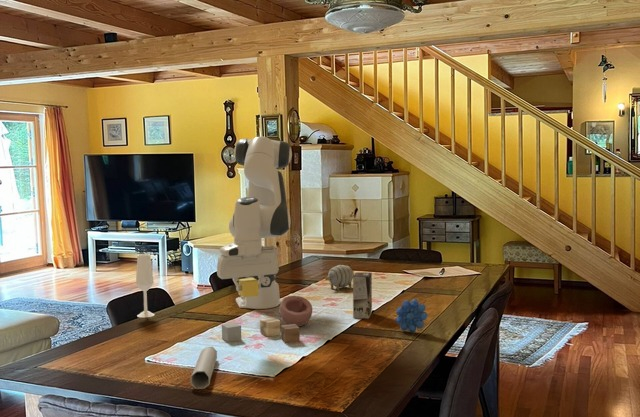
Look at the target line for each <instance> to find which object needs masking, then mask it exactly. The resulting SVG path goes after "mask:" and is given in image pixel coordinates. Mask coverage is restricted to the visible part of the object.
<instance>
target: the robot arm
mask: <svg viewBox="0 0 640 417" xmlns="http://www.w3.org/2000/svg"><path fill="white" fill-rule="evenodd" d="M234 146H235V147H234V150H233V154H234V155H233V156H234V159H235V162H236V163H237V164H238V165H240V166H243V173H244V177H245V178H246V180H247V181H248V194H247V195H248V196H245V197H240V198H238V199H237V200H236V201H235V204H234V212H233V214H232V217H231V218H230V220H229V222H228V230H229V233H230V234H231V236H232V237H233V242H231V243H228V244H226V245H223V246H221V247H220V248H219V253H220V255H219V257H218V260H217V265H216V274H217V277H218V278H219V279H221V280H228V279H232V281H233V283H234V285H235V289H236V290H235V291H236V292H238V295H239V291H242V285H239V279H241V278H245V279H246V278H254V279H256V280H258V296H253V297H242V296H241V295H240V296H239V297H236V298H235V302H236V303H237V306H238V307H239V308H240V309H251V310H253V309H254V310H263V309H264V310H265V309H272V308H275V307H278V306H280V304H281V302H282V300H283V299H281V298H280V287H279V286H280V285H279V283H278V282H276V275H277V274H278V273H279V271H280V269H279V261H278V258H279V251H278V248H277V247H275V246H274V245H270V246H265V245H262V242H263V241H262V239H272V238H279V237H282V236H285V235H286V234H288V232H289V231H290V228H291V214H290V211H289V209H288V204H287V203H288V200H287V194H286V185H285V180H284V175H283V174H282V171H280V169H284V168H287V167H288V166H289V164H290V162H291V161H292V157H293V152H292V148H291V145H290V144H289V143H288V142H287V141H283V140H275V139H271V138H268V136H267V137H266V136H256V137H254V138H249V139H248V138H241V139H239V140H238V141H237V142H236V144H235V145H234ZM277 168H278V169H277Z"/></svg>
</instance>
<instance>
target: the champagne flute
mask: <svg viewBox="0 0 640 417" xmlns="http://www.w3.org/2000/svg"><path fill="white" fill-rule="evenodd" d="M136 260H137V261H136V274H135V285H136V286H137V288H138V289H139V290H141V291H142V292H143V311H141V312H140V313H139V314H137V315H136V316H137V318H152V317H154V316H155V313H153V312H151V311H149V310H148V296H147V295H148V294H147V291H149V289H151V288H152V287H153V285H154V276H153V267H152V259H151V254H150V253H141V254H137V258H136Z"/></svg>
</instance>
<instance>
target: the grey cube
mask: <svg viewBox="0 0 640 417" xmlns="http://www.w3.org/2000/svg"><path fill="white" fill-rule="evenodd" d="M221 340H223V341H225V342H227V343H232V342H236V341H237V342H238V341H242V325H241V324H239V323H238V322H230V323H224V324H222V323H221Z"/></svg>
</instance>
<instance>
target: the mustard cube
mask: <svg viewBox="0 0 640 417" xmlns="http://www.w3.org/2000/svg"><path fill="white" fill-rule="evenodd" d="M238 284H239V285H242V291H239V294H238V295H239V296H240V297H241V296H242V297H253V296H258V280H256V279H254V278H246V277H245V278H239V281H238Z"/></svg>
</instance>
